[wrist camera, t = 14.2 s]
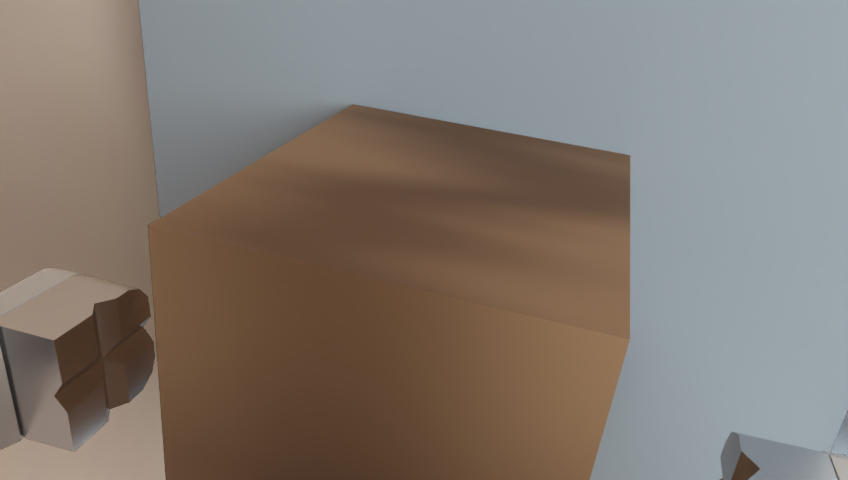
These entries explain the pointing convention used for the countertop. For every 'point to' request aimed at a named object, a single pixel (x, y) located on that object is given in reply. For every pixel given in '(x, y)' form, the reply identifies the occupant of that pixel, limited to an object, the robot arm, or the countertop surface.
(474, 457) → the walnut block
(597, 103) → the slate base block
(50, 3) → the countertop surface
